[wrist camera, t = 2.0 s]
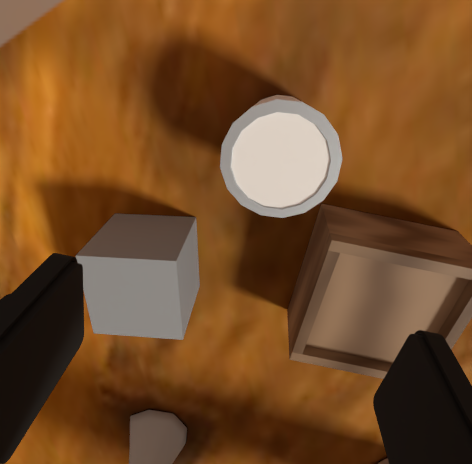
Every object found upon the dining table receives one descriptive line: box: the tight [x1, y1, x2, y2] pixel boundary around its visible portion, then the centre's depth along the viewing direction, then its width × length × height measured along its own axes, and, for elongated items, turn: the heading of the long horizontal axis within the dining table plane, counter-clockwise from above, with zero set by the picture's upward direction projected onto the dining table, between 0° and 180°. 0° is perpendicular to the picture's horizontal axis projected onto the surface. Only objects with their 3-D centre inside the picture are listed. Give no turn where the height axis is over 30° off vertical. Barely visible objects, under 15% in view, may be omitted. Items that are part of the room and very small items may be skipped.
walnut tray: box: [287, 203, 472, 379], centre depth 29 cm, size 11×11×6 cm
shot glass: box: [220, 95, 342, 218], centre depth 24 cm, size 7×7×7 cm
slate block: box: [76, 213, 200, 340], centre depth 29 cm, size 7×7×7 cm
